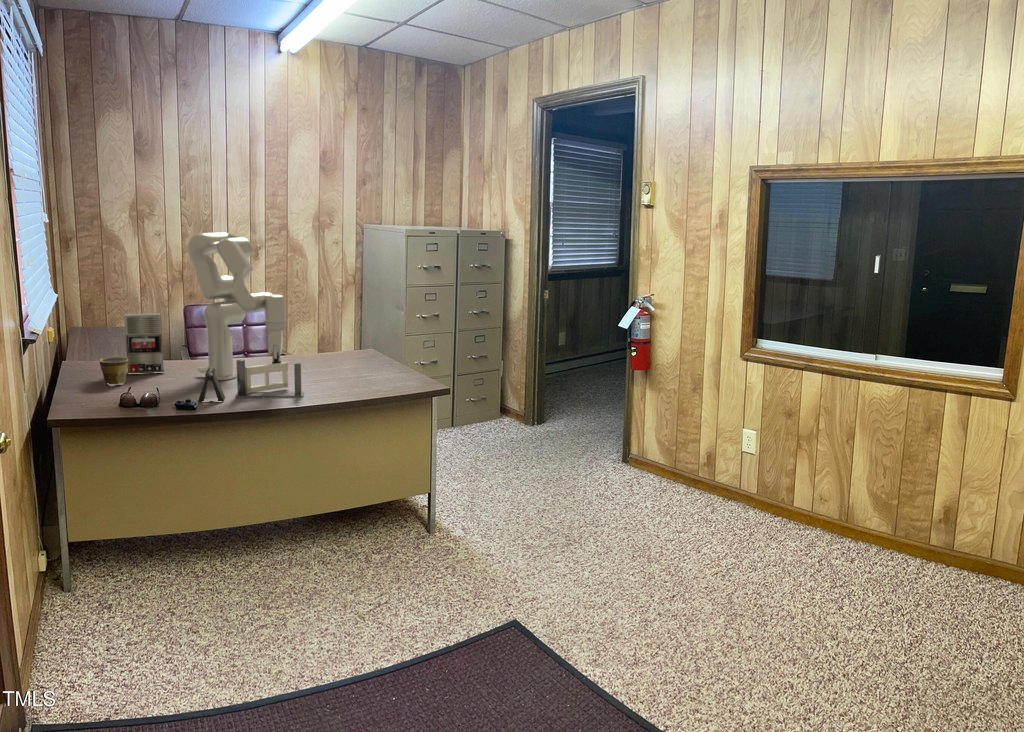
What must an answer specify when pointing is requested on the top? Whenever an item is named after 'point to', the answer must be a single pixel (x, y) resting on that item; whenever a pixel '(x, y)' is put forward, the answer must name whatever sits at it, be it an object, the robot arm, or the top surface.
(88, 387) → the top surface
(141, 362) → the cassette tape recorder
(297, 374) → the gate frame
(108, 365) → the ceramic cup
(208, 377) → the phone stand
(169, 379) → the top surface
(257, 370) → the gate
